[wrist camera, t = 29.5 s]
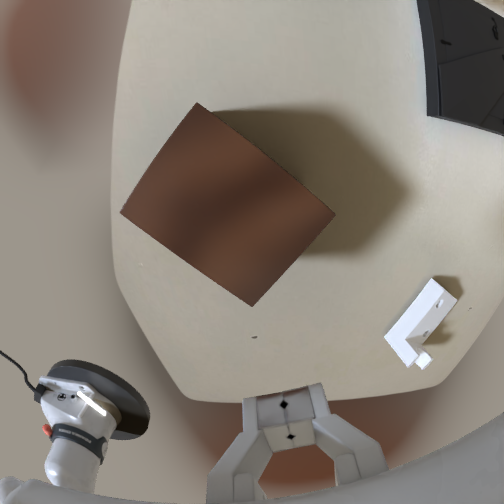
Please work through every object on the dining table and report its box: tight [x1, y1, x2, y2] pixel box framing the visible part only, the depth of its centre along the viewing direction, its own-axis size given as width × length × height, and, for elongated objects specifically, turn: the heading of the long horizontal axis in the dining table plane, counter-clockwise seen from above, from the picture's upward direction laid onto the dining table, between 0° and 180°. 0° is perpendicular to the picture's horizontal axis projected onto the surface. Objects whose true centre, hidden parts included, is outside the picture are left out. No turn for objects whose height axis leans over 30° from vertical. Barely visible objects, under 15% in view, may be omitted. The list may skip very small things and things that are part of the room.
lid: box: [120, 103, 336, 307], centre depth 28 cm, size 16×13×1 cm
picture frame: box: [417, 0, 504, 136], centre depth 29 cm, size 23×4×28 cm
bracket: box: [384, 278, 457, 370], centre depth 44 cm, size 13×7×8 cm, turn 148°
